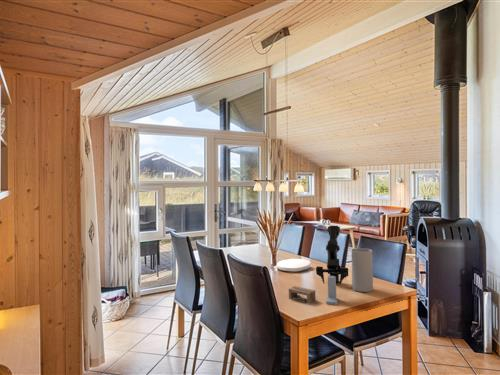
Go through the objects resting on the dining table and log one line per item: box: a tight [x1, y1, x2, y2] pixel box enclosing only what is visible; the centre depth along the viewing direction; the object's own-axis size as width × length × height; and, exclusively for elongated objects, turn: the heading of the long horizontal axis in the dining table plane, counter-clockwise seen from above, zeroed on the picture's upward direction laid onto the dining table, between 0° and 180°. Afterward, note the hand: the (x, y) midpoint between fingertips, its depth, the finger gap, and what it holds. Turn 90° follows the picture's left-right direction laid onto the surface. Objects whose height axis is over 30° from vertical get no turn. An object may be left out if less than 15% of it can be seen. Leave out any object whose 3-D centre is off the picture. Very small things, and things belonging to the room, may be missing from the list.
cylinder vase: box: [350, 247, 374, 293], centre depth 213 cm, size 12×12×25 cm
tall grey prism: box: [325, 275, 338, 306], centre depth 194 cm, size 11×6×13 cm, turn 164°
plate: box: [276, 258, 312, 273], centre depth 270 cm, size 28×6×27 cm
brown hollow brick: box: [288, 285, 317, 304], centre depth 198 cm, size 7×14×6 cm, turn 49°
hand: (331, 284), depth 196 cm, fingers open, 9 cm apart
